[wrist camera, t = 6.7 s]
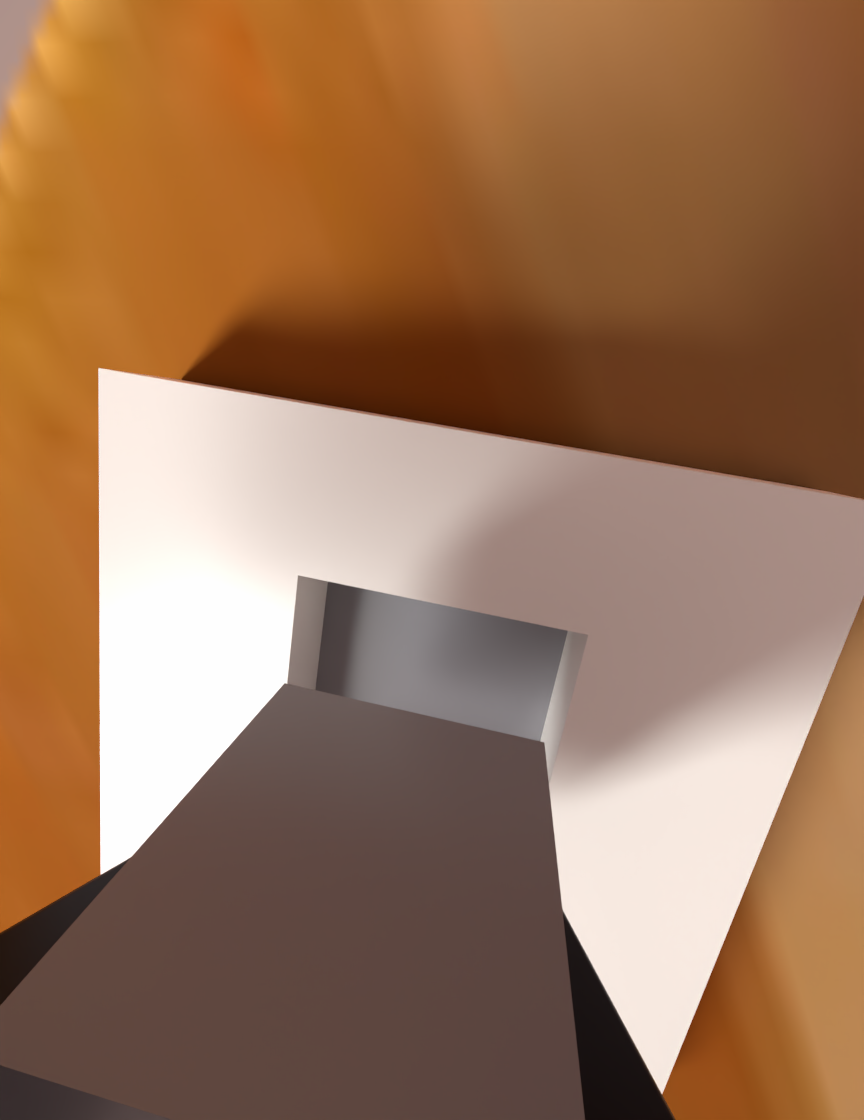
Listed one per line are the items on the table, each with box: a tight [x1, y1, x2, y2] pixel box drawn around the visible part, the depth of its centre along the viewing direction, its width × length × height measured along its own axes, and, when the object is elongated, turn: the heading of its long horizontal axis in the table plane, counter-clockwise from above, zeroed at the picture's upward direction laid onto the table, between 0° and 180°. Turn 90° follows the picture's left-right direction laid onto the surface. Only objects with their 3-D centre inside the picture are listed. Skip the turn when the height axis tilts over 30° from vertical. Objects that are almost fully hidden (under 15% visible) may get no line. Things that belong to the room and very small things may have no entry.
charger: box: [0, 683, 585, 1120], centre depth 6 cm, size 4×4×5 cm
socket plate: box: [99, 368, 864, 1094], centre depth 13 cm, size 14×18×2 cm
